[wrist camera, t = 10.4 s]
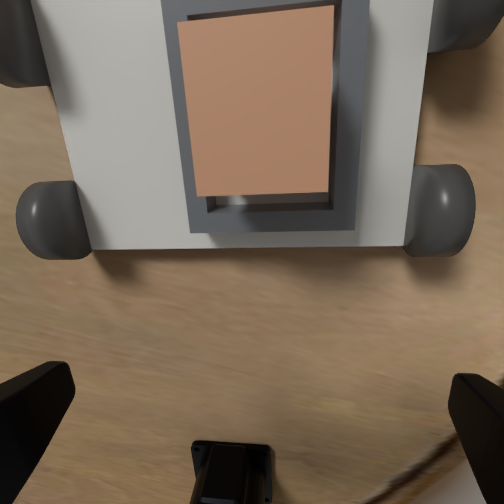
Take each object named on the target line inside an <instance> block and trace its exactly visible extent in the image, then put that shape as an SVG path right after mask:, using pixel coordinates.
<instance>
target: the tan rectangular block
mask: <svg viewBox="0 0 504 504" xmlns="http://www.w3.org/2000/svg"><path fill="white" fill-rule="evenodd" d="M333 23H334V5H331V6H321V7H312V8H303V9H294V10H285V11H276V12H266V13H257V14H248V15H239V16H230V17H221V18H211V19H202V20H193V21H184V22H177V26H178V35H179V44H180V53H181V61H182V70H183V79H184V88H185V96H186V105H187V114H188V122H189V131H190V140H191V149H192V157H193V166H194V175H195V184H196V192H197V197H198V196H226V195H254V194H283V193H311V192H328V178H329V147H330V116H331V85H332V54H333Z"/></svg>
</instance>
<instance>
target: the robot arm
mask: <svg viewBox="0 0 504 504" xmlns="http://www.w3.org/2000/svg"><path fill="white" fill-rule="evenodd" d="M74 395H75V384H74V381H73V377H72V374H71V371H70V367H69V365H68V364H67V363H66V362H64V361H49V362H46V363H44V364H41V365H39V366H37V367H35V368H33V369H31V370H29V371H27V372H24V373H22V374H20V375H18V376H16V377H14V378H12V379H10V380H7V381H5V382H3V383H1V384H0V504H12V503H13V502H14V500H15V499H16V497H17V495H18V494H19V492H20V491H21V489H22V488H23V486H24V485H25V483H26V482H27V480H28V478H29V477H30V475H31V474H32V472H33V471H34V469H35V467H36V466H37V464H38V462H39V461H40V459H41V457H42V455H43V454H44V452H45V450H46V448H47V446H48V445H49V443H50V441H51V439H52V437H53V435H54V433H55V432H56V430H57V428H58V426H59V424H60V422H61V421H62V419H63V417H64V415H65V413H66V411H67V409H68V408H69V406H70V404H71V402H72V400H73V398H74ZM448 410H449V414H450V417H451V419H452V422H453V424H454V427H455V429H456V432H457V434H458V436H459V439H460V441H461V444H462V446H463V449H464V451H465V454H466V456H467V459H468V461H469V464H470V466H471V468H472V471H473V473H474V476H475V478H476V480H477V483H478V485H479V487H480V490H481V492H482V495H483V497H484V499H485V501H486V503H487V504H504V389H502V388H501V387H499V386H497V385H496V384H494V383H492V382H490V381H489V380H487V379H485V378H484V377H482V376H480V375H478V374H474V373H457V374H455V375H454V377H453V379H452V385H451V390H450V395H449V400H448ZM191 452H192V458H193V464H194V470H195V476H196V482H195V485H194V489H193V493H192V496H191V500H190V504H269V503H271V502H272V476H271V453H270V448H269V447H268V446H266V445H256V444H241V443H226V442H212V441H194V442H193V443H192V446H191Z"/></svg>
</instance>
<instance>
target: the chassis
mask: <svg viewBox="0 0 504 504" xmlns="http://www.w3.org/2000/svg"><path fill="white" fill-rule="evenodd" d="M331 5H334V23H333V54H332V85H331V116H330V147H329V178H328V192H311V193H283V194H254V195H226V196H198V197H197V192H196V184H195V175H194V166H193V157H192V149H191V140H190V131H189V122H188V114H187V105H186V96H185V88H184V79H183V70H182V61H181V53H180V44H179V35H178V26H177V22H184V21H193V20H202V19H211V18H221V17H230V16H239V15H248V14H257V13H266V12H276V11H285V10H294V9H303V8H312V7H321V6H331ZM503 16H504V0H0V83H1V84H3V85H5V86H8V87H12V88H24V87H35V86H47V85H51V86H52V90H53V94H54V98H55V102H56V106H57V110H58V114H59V118H60V123H61V127H62V131H63V135H64V139H65V143H66V147H67V151H68V155H69V159H70V163H71V167H72V171H73V175H74V179H75V181H50V182H38V183H34V184H32V185H30V186H29V187H28V188H27V189H26V190H25V191H24V192H23V193H22V195H21V196H20V198H19V201H18V204H17V208H16V225H17V229H18V233H19V235H20V238H21V240H22V241H23V243H24V245H25V246H26V247H27V248H28V250H29V251H31V252H32V253H33V254H34V255H36V256H37V257H40V258H42V259H47V260H76V259H82V258H84V257H86V256H88V255H89V254H90V253H91V252H92V251H93V250H113V249H193V248H273V247H353V246H403V248H404V250H405V252H406V253H407V254H408V255H410V256H412V257H441V256H453V255H456V254H457V253H459V252H460V251H461V250H462V249H463V247H464V246H465V244H466V243H467V241H468V239H469V237H470V234H471V231H472V228H473V224H474V218H475V209H476V201H475V192H474V187H473V183H472V181H471V178H470V176H469V174H468V173H467V171H466V170H465V169H464V168H463V167H462V166H460V165H457V164H444V165H420V166H414V167H413V163H414V155H415V147H416V139H417V131H418V123H419V115H420V107H421V99H422V91H423V83H424V75H425V67H426V58H427V52H428V53H431V52H442V51H454V50H466V49H473V48H476V47H477V46H479V45H480V44H482V43H483V42H484V41H485V40H486V39H487V38H488V37H489V36H490V35H491V33H492V32H493V31H494V30H495V28H496V27H497V25H498V24H499V22H500V21H501V19H502V17H503Z"/></svg>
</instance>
